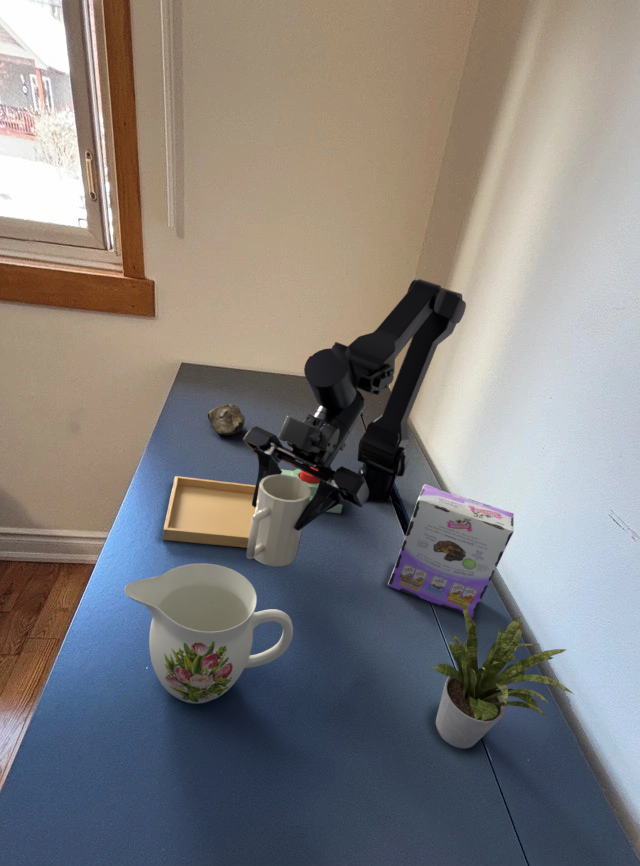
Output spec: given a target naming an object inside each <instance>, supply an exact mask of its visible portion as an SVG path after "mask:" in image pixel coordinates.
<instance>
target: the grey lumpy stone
mask: <svg viewBox="0 0 640 866" xmlns="http://www.w3.org/2000/svg"><path fill="white" fill-rule="evenodd" d="M207 419H208V421H209V423H210V425H211V427H212V429H213V431H214V433H216V434H218V435H220V436H233V435H235V434H238V433H239V432H241V430H242V429H243V427H244V425H245V422H246V418H245V415H244V414H243V413H242V411H241V409H240V407H238V406H237V405H236V404H234V403H233V404H232V403H223V404H221V405H218V406H216V407H214V408H213V409H211V410H209V411H208V412H207Z"/></svg>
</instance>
